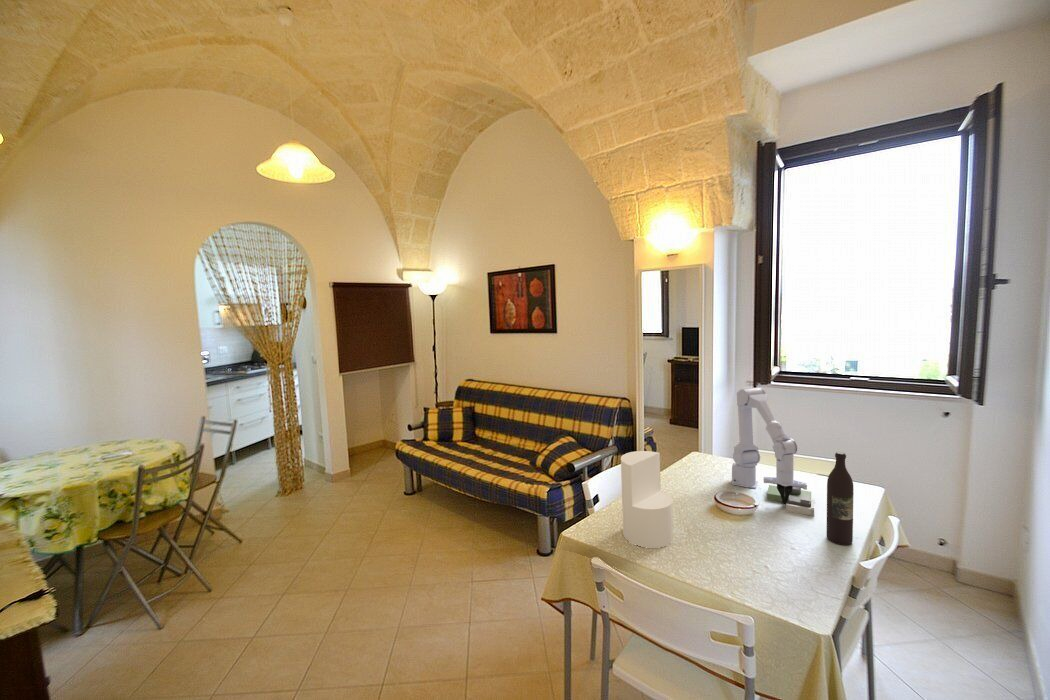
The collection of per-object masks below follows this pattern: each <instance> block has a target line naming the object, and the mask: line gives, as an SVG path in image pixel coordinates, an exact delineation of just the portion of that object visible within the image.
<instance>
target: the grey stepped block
mask: <svg viewBox="0 0 1050 700" xmlns="http://www.w3.org/2000/svg"><path fill="white" fill-rule="evenodd" d="M787 504H792V505H797V506H803V507H809V508H811V507H810V496H808V495H802V494H801V497H796V496H790V495H789V502H788V503H787Z"/></svg>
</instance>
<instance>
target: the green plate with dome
mask: <svg viewBox="0 0 1050 700" xmlns="http://www.w3.org/2000/svg"><path fill="white" fill-rule="evenodd" d="M801 494H802V495H808V496H810V508H809V507H803V506H797V505H792V504H788V502H789V497H788V500H787V504H785V511H786V512H790V513H794V514H795V513H796V514H800V515H807V516H811V517H815V499H812V491H809V490H805V489H802V488H796V487H793V489H792V492H791V493H790V496H796V497H801ZM766 500H769V501H775V502H781V503H783V502H782V498H781V495H780V493H779V491H778V489H777V485H773V484H771V485H770V484H769V485H768V487H767V492H766Z"/></svg>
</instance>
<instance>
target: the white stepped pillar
mask: <svg viewBox="0 0 1050 700" xmlns="http://www.w3.org/2000/svg"><path fill="white" fill-rule="evenodd" d="M660 454H661V453H660V452H656V451H649V450H637V451H630V452H627V453H625V454H622V455H621V457H620V473H621V502H622V503H621V504H622V505H621V506H622V529H623V531H622V536H623V535H624V536H623V538H624V537H625V538H626V539H627V540H628V541H629V542H631V543H633V544H636V545H638V546H642V547H647V548H658V549H660V548H659V547H663V548H665V547H664V546H666V547H668V546H670V545H671V544H672V543H673V542H674V539H673V538H674V536H675V535H674V500H673V496H671V495H670V493H667V492H666V491H663V490H661V489H662V488H661V455H660ZM625 538H624V539H625ZM626 539H625V540H626ZM627 540H626V541H627ZM628 541H627V542H628ZM672 541H673V542H672ZM629 542H628V543H629ZM671 542H672V543H671ZM631 543H630V544H631ZM670 543H671V544H670ZM633 544H632V545H633ZM669 544H670V545H669ZM667 545H668V546H667ZM638 546H637V547H638ZM642 547H641V548H642ZM647 548H646V549H647Z"/></svg>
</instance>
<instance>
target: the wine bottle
mask: <svg viewBox="0 0 1050 700" xmlns="http://www.w3.org/2000/svg"><path fill="white" fill-rule="evenodd" d="M834 457H835V465H834V467H833V469H831V471H830V473H829V474H828V477H827V484H826V538H827V540H828V541H830V542H831V543H833V544H837V545H839V546H849V545H852V544H853V540H854V536H853V535H854V483H853V478H852V477H851V475H850V473H849V471H848V470H847V466H846V459H847V455H846V453H845V452H842V451H836V452H835V454H834Z"/></svg>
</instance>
